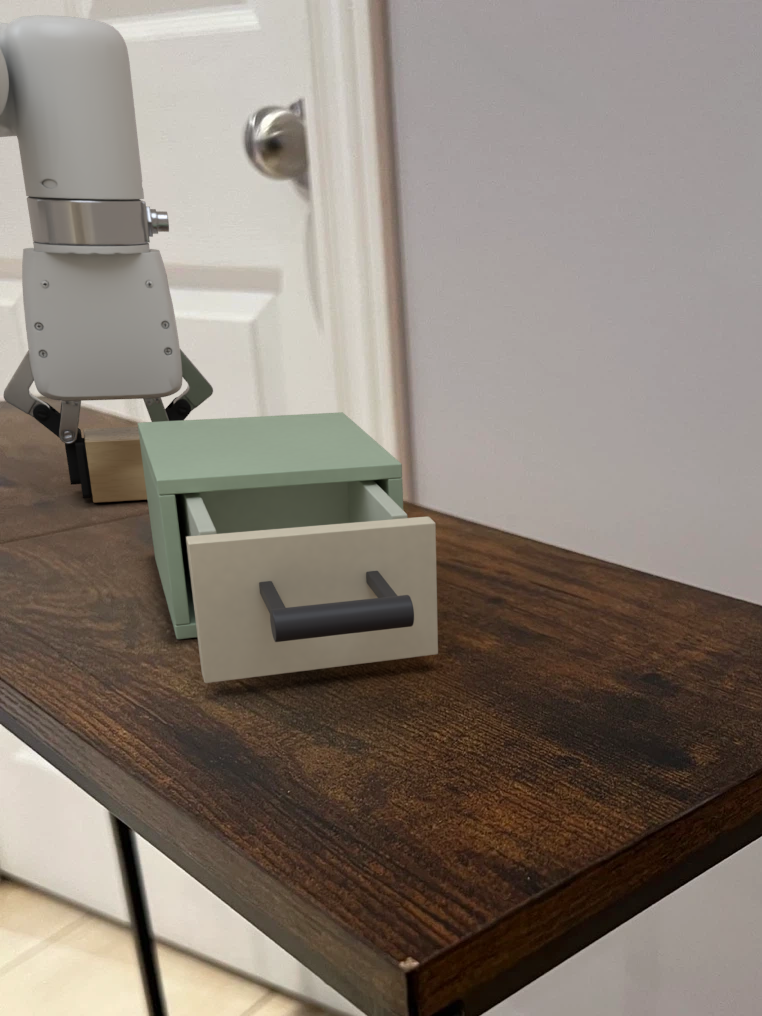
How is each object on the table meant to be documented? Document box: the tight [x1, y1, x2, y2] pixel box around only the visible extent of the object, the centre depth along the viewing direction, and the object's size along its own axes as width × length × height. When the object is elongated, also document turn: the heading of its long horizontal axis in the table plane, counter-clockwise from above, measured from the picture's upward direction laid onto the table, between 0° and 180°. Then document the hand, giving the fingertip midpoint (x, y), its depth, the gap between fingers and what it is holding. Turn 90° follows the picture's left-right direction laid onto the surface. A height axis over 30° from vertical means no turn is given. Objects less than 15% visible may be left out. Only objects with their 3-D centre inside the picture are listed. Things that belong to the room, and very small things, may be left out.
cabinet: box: [137, 412, 404, 640], centre depth 67 cm, size 15×13×9 cm
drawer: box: [179, 480, 439, 684], centre depth 57 cm, size 19×11×7 cm, turn 21°
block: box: [82, 426, 148, 504], centre depth 86 cm, size 4×4×4 cm
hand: (123, 488), depth 86 cm, fingers closed on block, 4 cm apart
